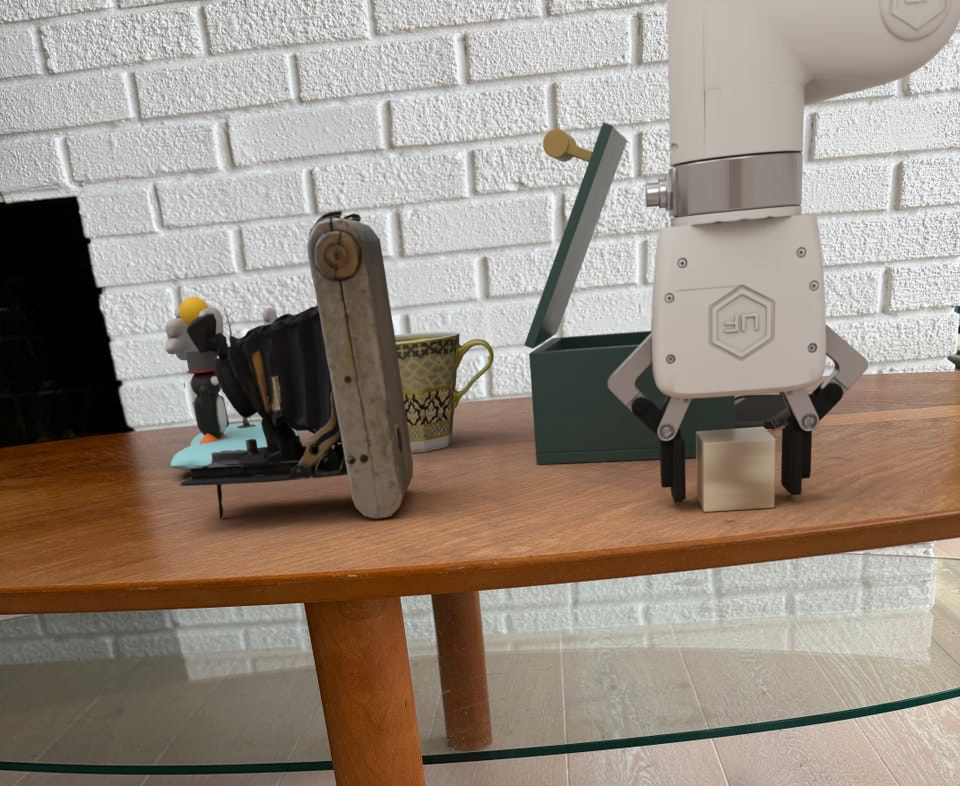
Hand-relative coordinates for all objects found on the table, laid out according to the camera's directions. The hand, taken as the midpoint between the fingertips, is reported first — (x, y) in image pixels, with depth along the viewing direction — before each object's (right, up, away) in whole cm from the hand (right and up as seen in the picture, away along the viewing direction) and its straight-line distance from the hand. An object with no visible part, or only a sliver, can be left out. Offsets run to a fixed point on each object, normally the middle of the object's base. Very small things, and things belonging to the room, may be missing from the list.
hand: (734, 491), depth 66 cm
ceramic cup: (-21, +9, +30) cm, 38 cm away
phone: (+10, +11, +30) cm, 34 cm away
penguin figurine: (-40, +8, +32) cm, 52 cm away
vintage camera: (-29, 0, +8) cm, 30 cm away
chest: (-3, +7, +21) cm, 23 cm away
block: (0, -1, 0) cm, 1 cm away
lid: (-8, +23, +16) cm, 29 cm away
